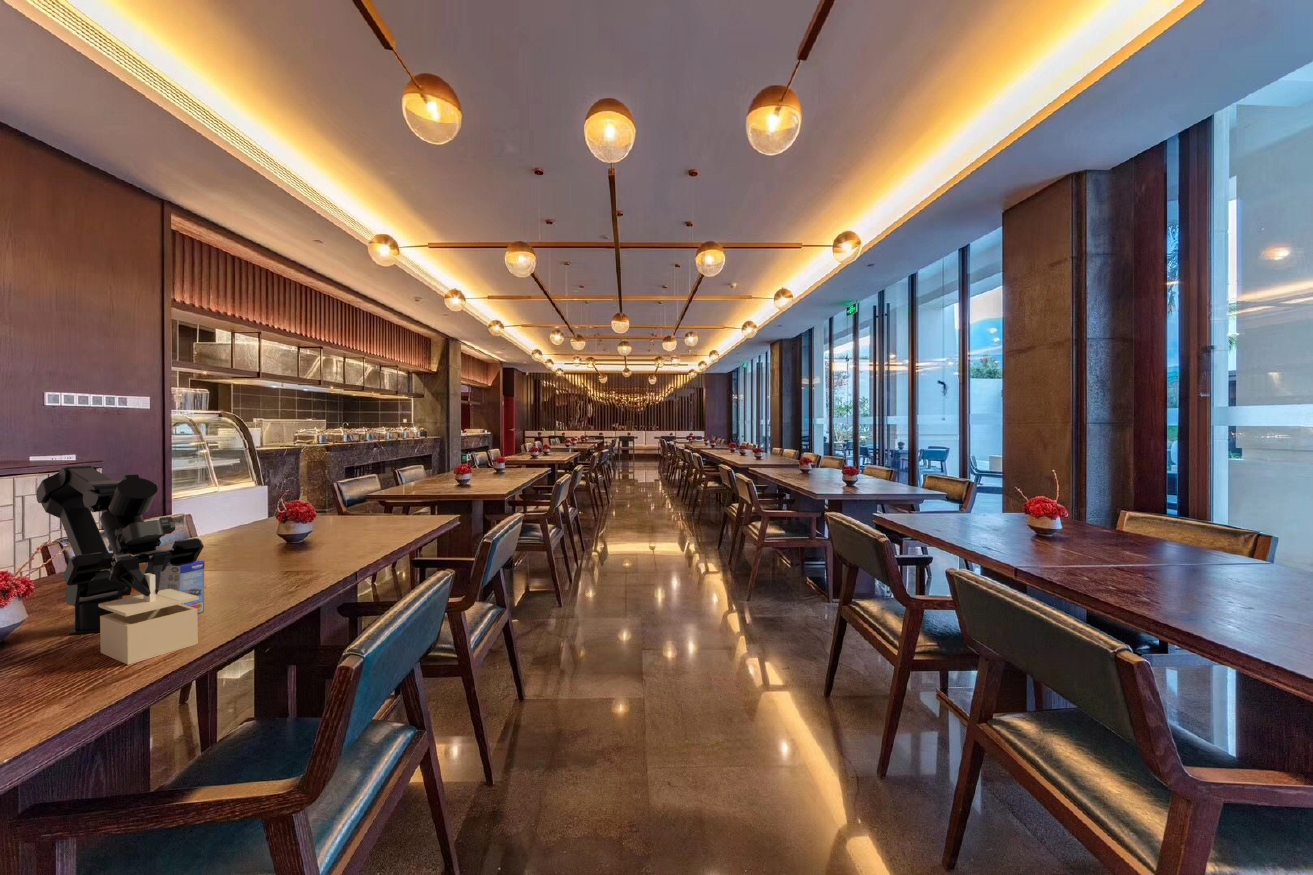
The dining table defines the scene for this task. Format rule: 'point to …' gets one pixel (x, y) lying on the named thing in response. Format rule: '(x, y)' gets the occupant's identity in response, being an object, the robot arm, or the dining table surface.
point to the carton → (148, 633)
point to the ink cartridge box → (186, 581)
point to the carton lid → (148, 600)
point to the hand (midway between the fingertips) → (152, 593)
